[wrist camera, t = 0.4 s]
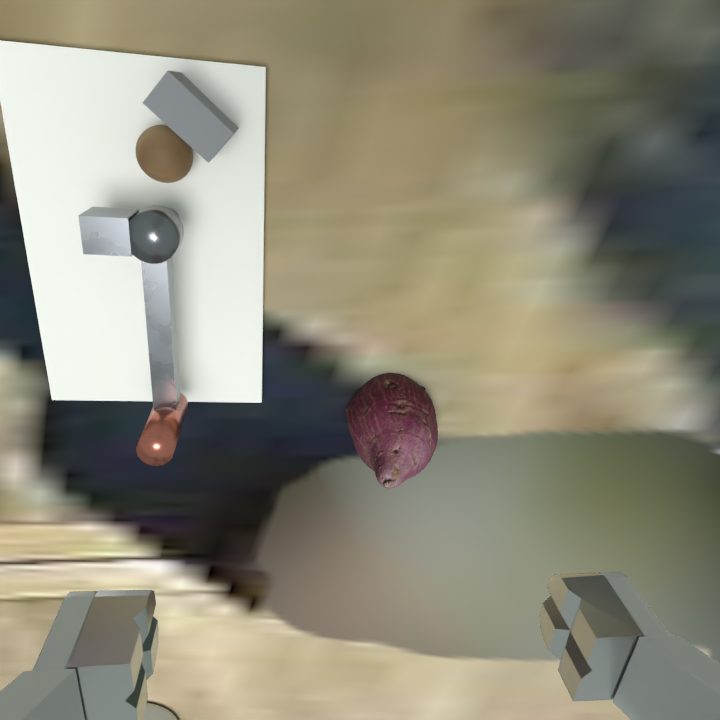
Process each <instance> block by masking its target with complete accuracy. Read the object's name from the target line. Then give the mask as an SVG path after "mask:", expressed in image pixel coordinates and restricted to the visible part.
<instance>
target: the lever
mask: <svg viewBox="0 0 720 720" xmlns="http://www.w3.org/2000/svg"><path fill="white" fill-rule="evenodd" d="M78 217H79V225H80V232H81V240H82V248H83V254H89V255H109V256H130V257H132V255H134V256H135V257H136V258H138V259H139V260H141V267H142V279H143V290H144V302H145V314H146V326H147V338H148V350H149V362H150V374H151V386H152V398H153V408H152V411H151V413H150V416H149V418H148V420H147V423H146V425H145V428H144V430H143V433H142V435H141V438H140V440H139V443H138V445H137V449H136V451H137V455H138V457H139V458H140V459H141V460H142V461H143V462H145V463H147V464H149V465H154V466H158V465H163V464H166V463H167V462H169V461H170V460H171V458H172V457H173V454H174V450H175V447H176V444H177V440H178V437H179V434H180V430H181V427H182V424H183V420H184V417H185V414H186V410H187V407H188V401H187V399H186V397H185V396H184V395H183V394H182V393H180V379H179V362H178V345H177V328H176V311H175V294H174V277H173V260H172V256H173V254H174V253H175V251H176V250H177V248H178V247H179V245H180V244H181V242H182V240H183V237H184V228H183V224H182V222H181V220H180V218H179V217H178V216H177V214H176V213H174V212H173V211H172V210H170V209H169V208H166V207H164V206H159V205H153V206H149V207H146V208H144V209H143V210H141V211H140V212H139V209H125V208H108V207H91V208H90V209H88V210H86V211H85V212H83V213H82V214H80V215H78Z"/></svg>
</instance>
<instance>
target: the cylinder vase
mask: <svg viewBox="0 0 720 720" xmlns="http://www.w3.org/2000/svg"><path fill="white" fill-rule="evenodd" d="M143 720H177V718H176V717H175V715H174V714H173V713H171V712H170V711H169V710H167V709H166V708H164V707H161V706H159V705H155V704H151V703H146V707H145V711H144V715H143Z"/></svg>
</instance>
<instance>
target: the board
mask: <svg viewBox="0 0 720 720" xmlns="http://www.w3.org/2000/svg"><path fill="white" fill-rule="evenodd" d="M0 102H1V107H2V113H3V119H4V125H5V131H6V136H7V142H8V148H9V154H10V160H11V165H12V171H13V177H14V183H15V189H16V194H17V200H18V206H19V212H20V218H21V223H22V229H23V235H24V241H25V247H26V252H27V258H28V264H29V270H30V275H31V281H32V287H33V293H34V299H35V304H36V310H37V316H38V322H39V328H40V333H41V339H42V345H43V351H44V357H45V362H46V368H47V374H48V380H49V386H50V391H51V397H52V400H91V401H153V398H152V386H151V374H150V362H149V350H148V338H147V326H146V314H145V302H144V290H143V279H142V267H141V260H139V259H138V258H136V257H135V256H134V255H132V257H130V256H109V255H89V254H83V248H82V240H81V232H80V225H79V217H78V215H80V214H82V213H83V212H85V211H86V210H88V209H90V208H91V207H108V208H125V209H139V212H140V211H141V210H143V209H144V208H146V207H149V206H153V205H159V206H164V207H166V208H169V209H170V210H172V211H173V212H174V213H176V214H177V216H178V217H179V218H180V220H181V222H182V224H183V228H184V237H183V240H182V242H181V244H180V245H179V247H178V248H177V250H176V251H175V253H174V254H173V256H172V260H173V277H174V294H175V311H176V328H177V345H178V362H179V379H180V393H182V394H183V395H184V396H185V397H186V399H187V401H188V402H251V403H262V356H263V275H264V194H265V114H266V67H260V66H250V65H240V64H230V63H220V62H210V61H200V60H190V59H180V58H170V57H160V56H150V55H140V54H130V53H120V52H110V51H100V50H90V49H80V48H70V47H60V46H50V45H40V44H31V43H21V42H11V41H1V40H0ZM155 125H167V126H168V127H169V128H171V129H172V130H173V131H174V132H175V133H176V134H177V135H178V136H179V137H180V138H182V139H183V140H184V141H185V142H186V143H187V144H188V145H189V146H190V147H191V148H192V151H193V164H192V167H191V169H190V171H189V172H188V174H187V175H186V176H185V177H184V178H182V179H181V180H179V181H176V182H173V183H163V182H159V181H156V180H154V179H152V178H150V177H149V176H148V175H146V174H145V173H144V171H143V170H142V169H141V167H140V166H139V164H138V161H137V158H136V150H135V149H136V143H137V140H138V138H139V136H140V135H141V134H142V132H144V131H145V130H146V129H148V128H149V127H152V126H155Z"/></svg>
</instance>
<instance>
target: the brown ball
mask: <svg viewBox="0 0 720 720" xmlns="http://www.w3.org/2000/svg"><path fill="white" fill-rule="evenodd" d="M135 150H136V158H137V161H138V164H139V166H140V167H141V169H142V170H143V171H144V173H145V174H146V175H148V176H149V177H150V178H152V179H154V180H156V181H159V182H163V183H173V182H176V181H179V180H181V179H182V178H184V177H185V176H186V175H187V174H188V172H189V171H190V169H191V167H192V164H193V151H192V148H191V147H190V146H189V145H188V144H187V143H186V142H185V141H184V140H183V139H182V138H180V137H179V136H178V135H177V134H176V133H175V132H174V131H173V130H172V129H171V128H169V127H168V126H167V125H155V126H152V127H149V128H148V129H146V130H145V131H144V132H142V134H141V135H140V136H139V138H138V140H137V143H136V149H135Z"/></svg>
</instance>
